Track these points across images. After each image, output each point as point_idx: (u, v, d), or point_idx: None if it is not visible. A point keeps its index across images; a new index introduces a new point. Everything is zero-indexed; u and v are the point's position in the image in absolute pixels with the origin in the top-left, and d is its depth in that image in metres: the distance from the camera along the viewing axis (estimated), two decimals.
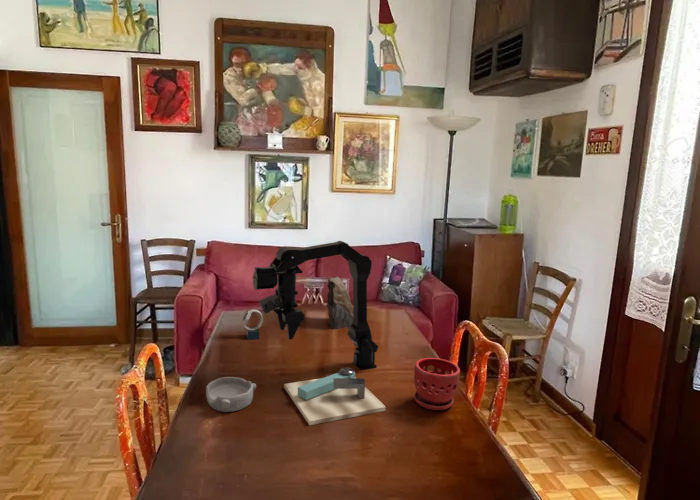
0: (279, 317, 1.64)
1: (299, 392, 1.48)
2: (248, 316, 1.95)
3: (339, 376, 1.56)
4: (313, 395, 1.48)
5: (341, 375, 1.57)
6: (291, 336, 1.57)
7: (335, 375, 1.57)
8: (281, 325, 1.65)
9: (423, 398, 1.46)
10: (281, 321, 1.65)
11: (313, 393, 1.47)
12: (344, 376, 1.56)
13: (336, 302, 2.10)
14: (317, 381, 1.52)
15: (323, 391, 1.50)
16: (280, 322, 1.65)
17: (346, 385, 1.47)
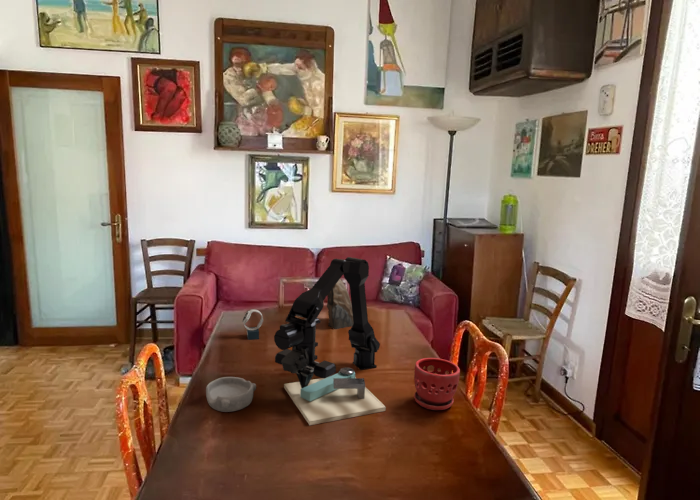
0: (301, 377, 1.49)
1: (302, 394, 1.47)
2: (248, 316, 1.95)
3: (340, 376, 1.56)
4: (316, 396, 1.47)
5: (342, 375, 1.57)
6: None
7: (336, 375, 1.57)
8: (303, 385, 1.49)
9: (423, 398, 1.46)
10: None
11: (316, 394, 1.47)
12: (345, 376, 1.56)
13: (336, 302, 2.10)
14: (319, 382, 1.52)
15: (325, 392, 1.50)
16: None
17: (346, 385, 1.47)
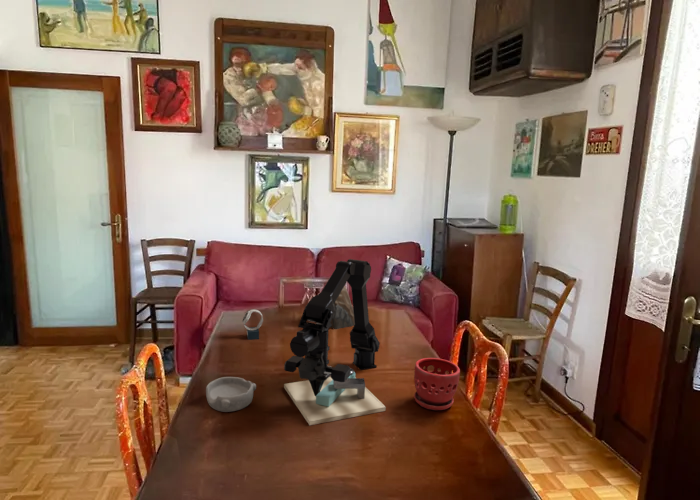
0: (314, 383, 1.45)
1: (318, 400, 1.43)
2: (248, 316, 1.95)
3: None
4: (332, 400, 1.45)
5: None
6: (318, 392, 1.46)
7: None
8: (315, 392, 1.46)
9: (423, 398, 1.46)
10: None
11: (332, 398, 1.45)
12: None
13: (336, 302, 2.10)
14: (328, 386, 1.49)
15: (338, 395, 1.48)
16: (315, 388, 1.45)
17: (346, 385, 1.47)
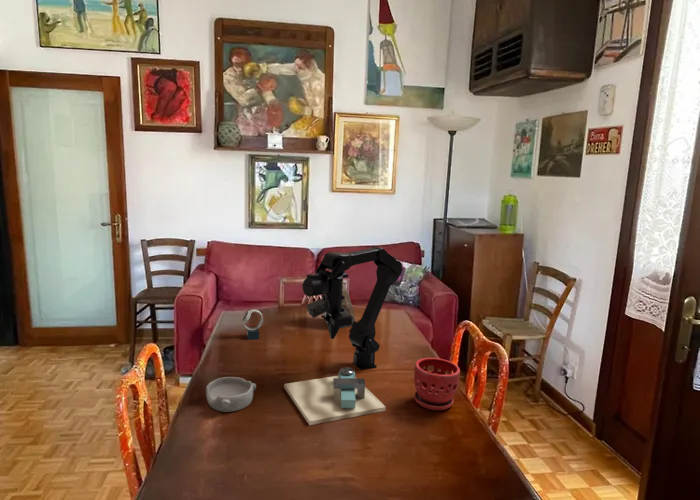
0: None
1: (344, 404, 1.42)
2: (248, 316, 1.95)
3: (348, 377, 1.56)
4: None
5: (347, 376, 1.57)
6: (333, 336, 1.63)
7: None
8: None
9: (423, 398, 1.46)
10: None
11: None
12: (351, 376, 1.57)
13: None
14: None
15: None
16: None
17: (346, 385, 1.47)
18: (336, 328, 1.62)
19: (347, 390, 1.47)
